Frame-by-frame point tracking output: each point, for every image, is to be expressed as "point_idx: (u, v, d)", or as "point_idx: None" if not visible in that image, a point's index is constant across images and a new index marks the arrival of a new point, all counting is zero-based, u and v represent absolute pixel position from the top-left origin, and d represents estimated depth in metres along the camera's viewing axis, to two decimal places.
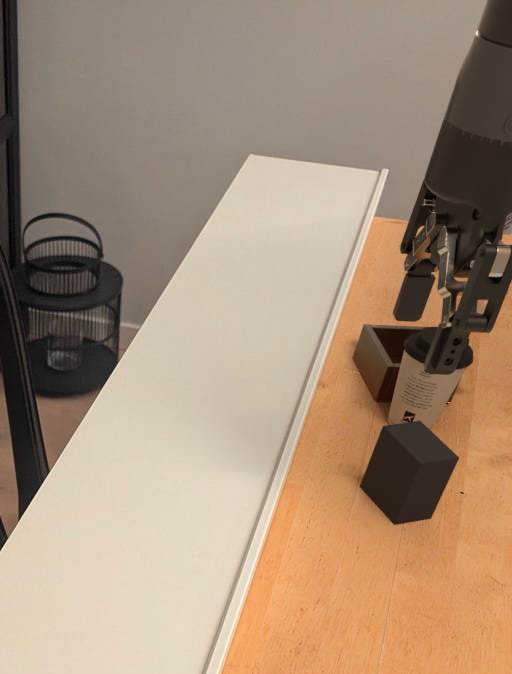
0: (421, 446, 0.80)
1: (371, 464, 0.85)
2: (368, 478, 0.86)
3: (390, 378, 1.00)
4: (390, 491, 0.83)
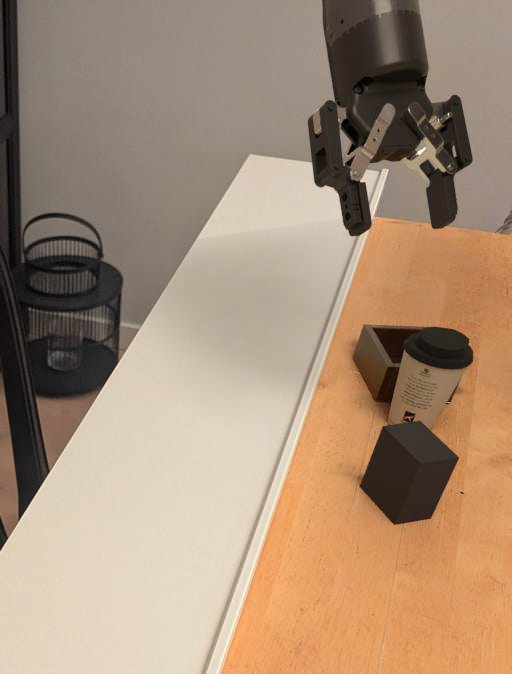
0: (421, 446, 0.80)
1: (371, 464, 0.85)
2: (368, 478, 0.86)
3: (390, 378, 1.00)
4: (390, 491, 0.83)
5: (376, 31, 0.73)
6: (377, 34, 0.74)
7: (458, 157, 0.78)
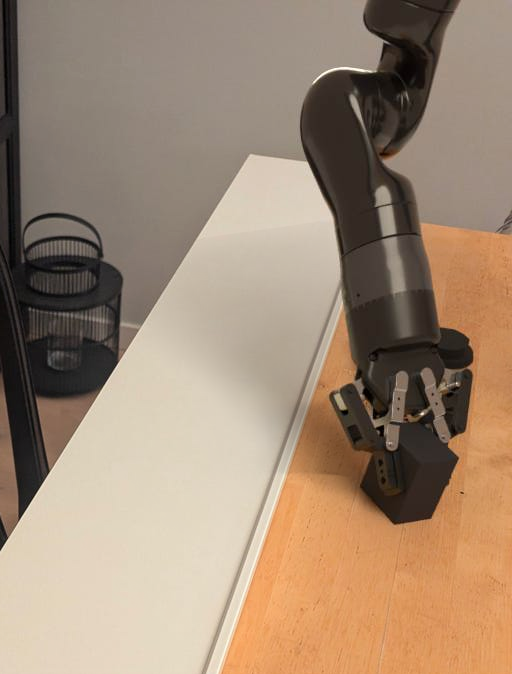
0: (421, 446, 0.80)
1: (371, 464, 0.85)
2: (368, 478, 0.86)
3: None
4: None
5: (390, 308, 0.78)
6: (391, 311, 0.78)
7: (452, 425, 0.82)
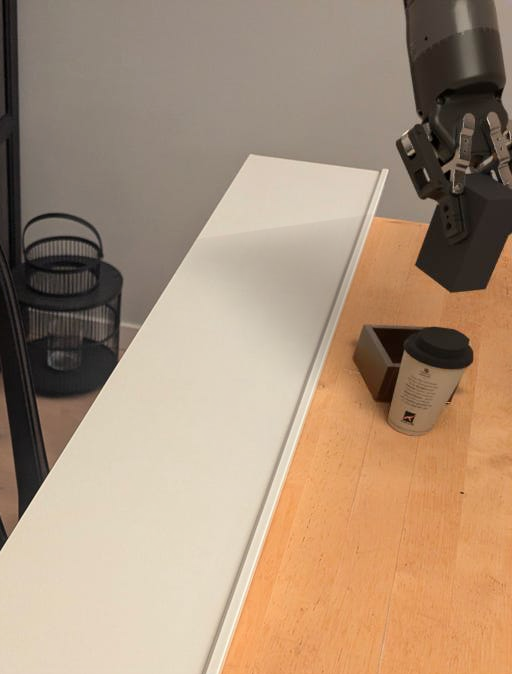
0: (487, 189, 0.82)
1: (434, 220, 0.86)
2: (430, 235, 0.87)
3: (390, 378, 1.00)
4: None
5: (459, 47, 0.80)
6: (460, 50, 0.80)
7: None
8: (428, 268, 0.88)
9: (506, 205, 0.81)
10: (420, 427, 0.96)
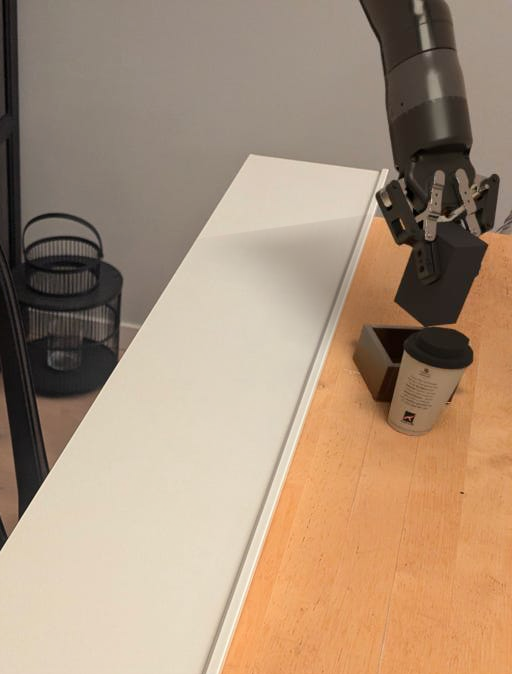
0: (455, 236, 0.93)
1: (410, 262, 0.97)
2: (407, 275, 0.98)
3: (390, 378, 1.00)
4: None
5: (430, 113, 0.91)
6: (431, 115, 0.91)
7: (482, 223, 0.95)
8: (405, 304, 0.99)
9: (472, 251, 0.92)
10: (420, 427, 0.96)
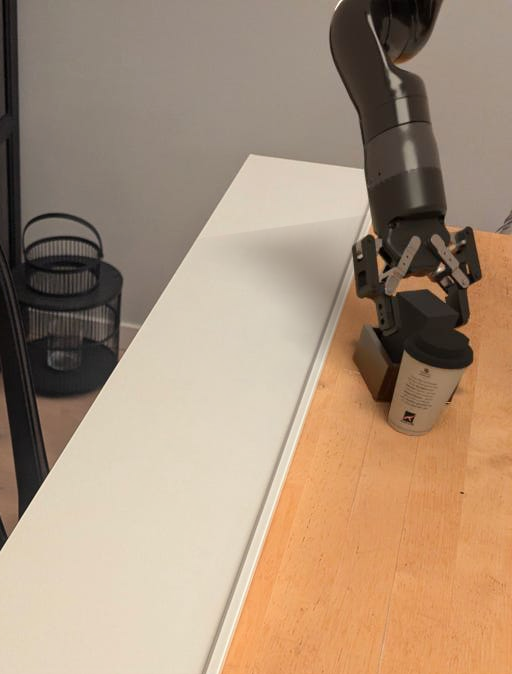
0: (428, 306, 0.98)
1: None
2: (384, 339, 1.03)
3: (390, 378, 1.00)
4: (402, 346, 1.01)
5: (406, 183, 0.96)
6: (406, 185, 0.96)
7: (470, 274, 1.00)
8: None
9: (444, 320, 0.97)
10: (420, 427, 0.96)
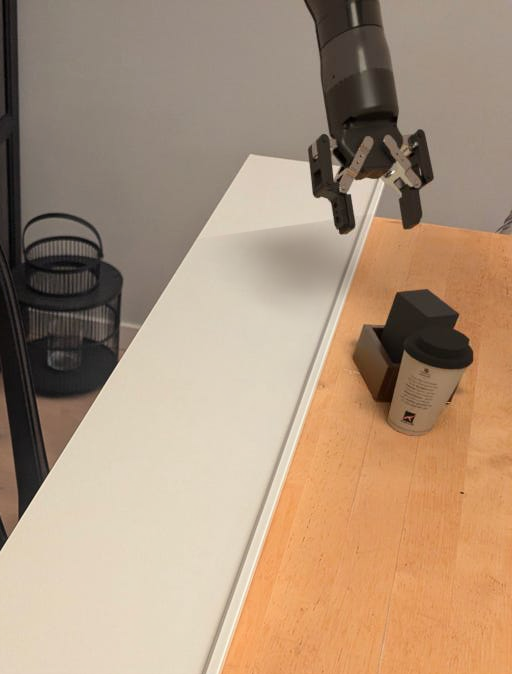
0: (428, 306, 0.98)
1: (386, 327, 1.03)
2: (384, 339, 1.03)
3: (390, 378, 1.00)
4: (402, 346, 1.01)
5: (358, 83, 1.00)
6: (359, 86, 1.00)
7: (422, 175, 1.04)
8: None
9: (444, 320, 0.97)
10: (420, 427, 0.96)
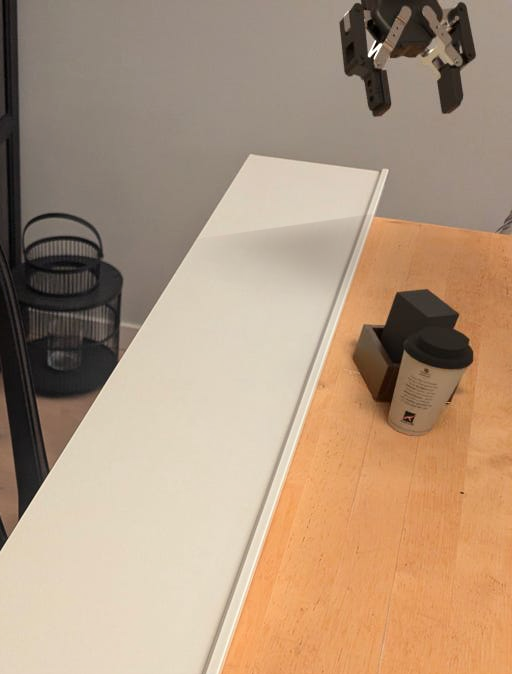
0: (428, 306, 0.98)
1: (386, 327, 1.03)
2: (384, 339, 1.03)
3: (390, 378, 1.00)
4: (402, 346, 1.01)
5: None
6: None
7: (464, 53, 0.95)
8: None
9: (444, 320, 0.97)
10: (420, 427, 0.96)
